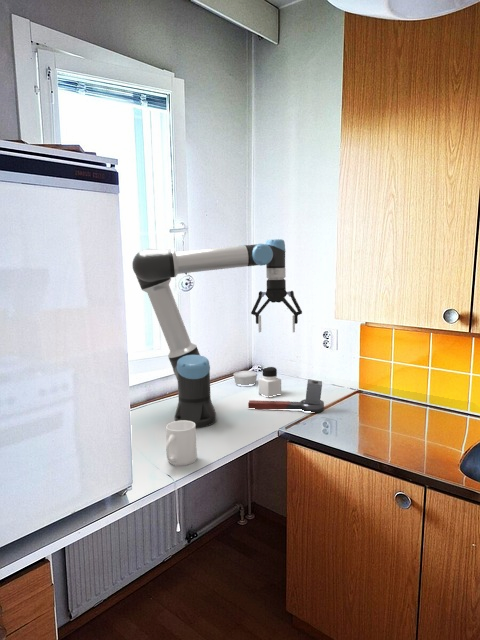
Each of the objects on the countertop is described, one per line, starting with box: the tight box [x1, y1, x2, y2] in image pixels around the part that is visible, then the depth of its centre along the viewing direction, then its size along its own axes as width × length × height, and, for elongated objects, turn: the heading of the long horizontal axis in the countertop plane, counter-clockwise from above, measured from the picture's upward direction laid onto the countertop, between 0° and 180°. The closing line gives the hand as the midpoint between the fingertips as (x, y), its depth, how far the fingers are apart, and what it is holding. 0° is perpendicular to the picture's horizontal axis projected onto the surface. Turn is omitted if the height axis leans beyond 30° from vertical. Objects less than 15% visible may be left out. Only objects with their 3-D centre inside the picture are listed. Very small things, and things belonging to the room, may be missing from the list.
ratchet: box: [247, 398, 325, 414], centre depth 180 cm, size 29×9×6 cm, turn 81°
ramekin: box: [233, 370, 258, 385], centre depth 217 cm, size 11×11×5 cm
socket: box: [305, 379, 323, 405], centre depth 177 cm, size 5×5×8 cm
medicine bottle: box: [257, 366, 282, 397], centre depth 199 cm, size 7×7×12 cm
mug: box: [165, 420, 198, 467], centre depth 135 cm, size 9×12×11 cm
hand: (276, 331), depth 187 cm, fingers open, 13 cm apart
